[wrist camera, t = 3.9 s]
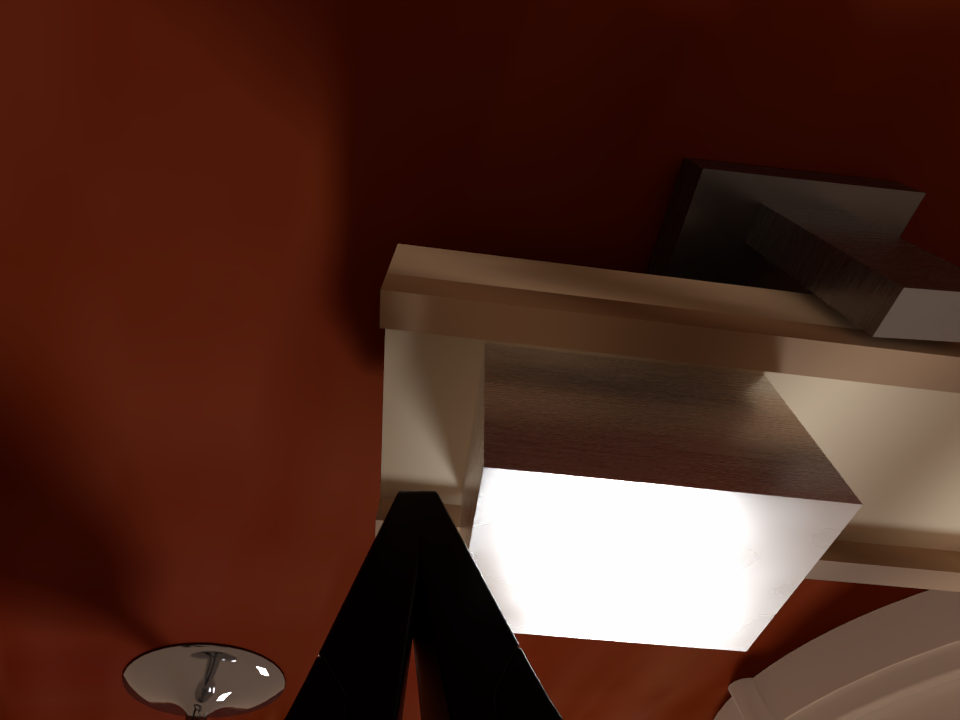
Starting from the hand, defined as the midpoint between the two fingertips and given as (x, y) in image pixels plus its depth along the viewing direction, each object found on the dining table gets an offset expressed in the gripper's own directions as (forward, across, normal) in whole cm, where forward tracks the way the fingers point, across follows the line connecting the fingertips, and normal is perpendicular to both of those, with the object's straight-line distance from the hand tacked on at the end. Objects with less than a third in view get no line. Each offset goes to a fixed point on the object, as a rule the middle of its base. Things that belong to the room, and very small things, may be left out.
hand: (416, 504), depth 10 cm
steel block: (+2, -4, 0) cm, 5 cm away
